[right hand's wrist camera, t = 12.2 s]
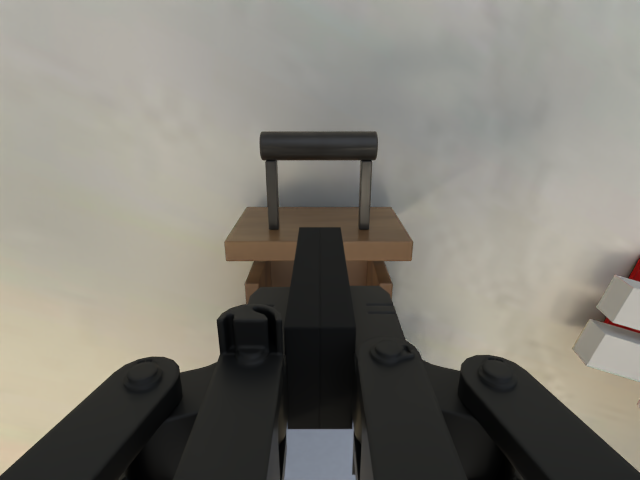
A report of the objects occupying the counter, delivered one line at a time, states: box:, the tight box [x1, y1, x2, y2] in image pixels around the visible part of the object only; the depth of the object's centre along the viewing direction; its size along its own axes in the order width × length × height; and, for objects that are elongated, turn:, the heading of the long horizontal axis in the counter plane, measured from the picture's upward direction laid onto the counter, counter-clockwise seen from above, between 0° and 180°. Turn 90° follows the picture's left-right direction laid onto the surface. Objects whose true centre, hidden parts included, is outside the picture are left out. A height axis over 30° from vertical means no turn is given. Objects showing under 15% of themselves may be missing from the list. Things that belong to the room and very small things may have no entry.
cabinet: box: [284, 427, 356, 480], centre depth 31 cm, size 20×12×9 cm, turn 0°
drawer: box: [224, 132, 413, 304], centre depth 27 cm, size 24×10×7 cm, turn 0°
